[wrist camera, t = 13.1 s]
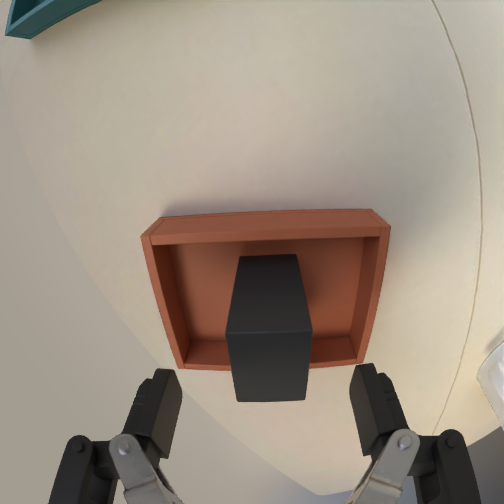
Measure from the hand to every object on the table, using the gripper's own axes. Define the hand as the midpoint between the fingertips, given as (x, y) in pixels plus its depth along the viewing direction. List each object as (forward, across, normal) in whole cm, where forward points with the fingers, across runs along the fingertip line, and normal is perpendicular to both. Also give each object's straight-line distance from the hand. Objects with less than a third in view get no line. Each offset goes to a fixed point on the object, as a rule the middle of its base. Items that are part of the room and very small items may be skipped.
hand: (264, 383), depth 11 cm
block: (+8, 0, 0) cm, 8 cm away
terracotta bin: (+8, 0, 0) cm, 8 cm away
